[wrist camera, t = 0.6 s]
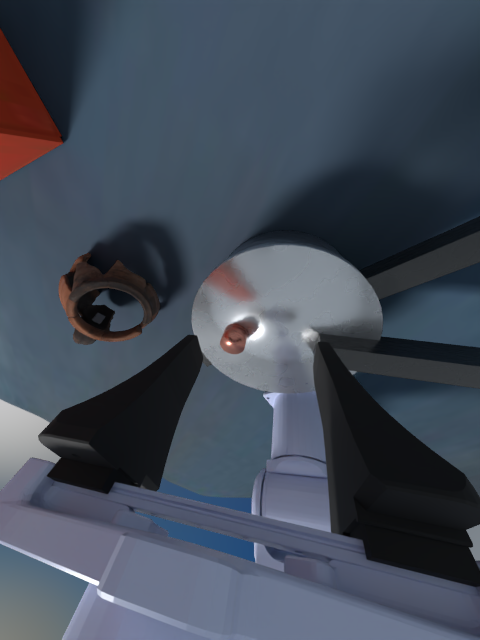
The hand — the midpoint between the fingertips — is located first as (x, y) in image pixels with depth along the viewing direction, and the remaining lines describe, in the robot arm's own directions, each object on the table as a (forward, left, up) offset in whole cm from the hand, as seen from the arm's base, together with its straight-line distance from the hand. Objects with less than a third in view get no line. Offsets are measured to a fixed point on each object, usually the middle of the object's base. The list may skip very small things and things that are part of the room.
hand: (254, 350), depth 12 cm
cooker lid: (-5, -3, -5) cm, 8 cm away
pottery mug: (+8, +16, -10) cm, 21 cm away
